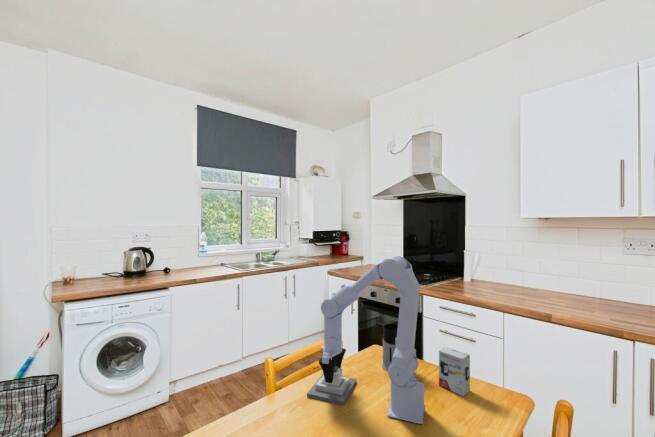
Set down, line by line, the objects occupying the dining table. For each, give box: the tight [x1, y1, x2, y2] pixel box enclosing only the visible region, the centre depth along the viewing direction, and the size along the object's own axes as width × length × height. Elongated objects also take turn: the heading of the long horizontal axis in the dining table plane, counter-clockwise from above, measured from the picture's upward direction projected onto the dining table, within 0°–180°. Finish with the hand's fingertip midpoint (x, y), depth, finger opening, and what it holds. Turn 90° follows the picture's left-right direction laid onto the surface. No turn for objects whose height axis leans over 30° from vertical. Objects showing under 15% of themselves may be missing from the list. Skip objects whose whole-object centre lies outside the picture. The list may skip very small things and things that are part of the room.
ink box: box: [438, 346, 471, 397], centre depth 99 cm, size 9×5×12 cm, turn 42°
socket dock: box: [306, 373, 357, 406], centre depth 98 cm, size 12×14×2 cm
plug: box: [324, 366, 343, 388], centre depth 98 cm, size 5×4×6 cm
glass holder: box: [381, 323, 398, 372], centre depth 111 cm, size 9×14×15 cm, turn 178°
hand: (332, 376), depth 98 cm, fingers open, 7 cm apart
